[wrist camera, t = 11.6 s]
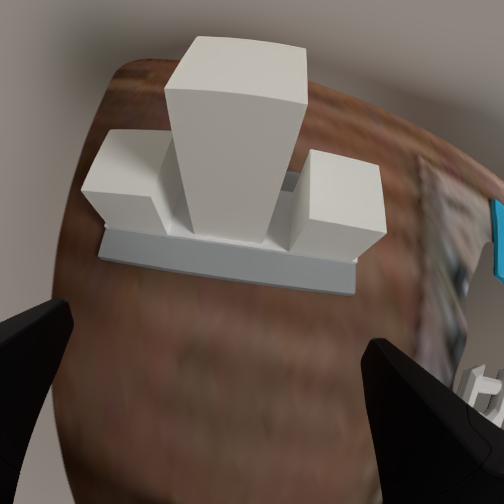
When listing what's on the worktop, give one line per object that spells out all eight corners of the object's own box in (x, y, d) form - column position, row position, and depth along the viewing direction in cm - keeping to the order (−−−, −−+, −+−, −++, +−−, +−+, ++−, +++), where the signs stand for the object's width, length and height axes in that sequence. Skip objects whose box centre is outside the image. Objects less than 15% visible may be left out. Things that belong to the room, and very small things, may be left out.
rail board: (350, 296, 21) (395, 272, 15) (101, 259, 20) (61, 224, 14) (349, 188, 25) (380, 142, 18) (136, 159, 24) (117, 107, 18)
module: (262, 244, 21) (307, 104, 8) (194, 234, 20) (164, 88, 8) (268, 190, 22) (306, 47, 10) (206, 182, 22) (198, 35, 10)
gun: (457, 525, 10) (399, 525, 11) (438, 518, 13) (380, 513, 14) (521, 373, 17) (482, 342, 18) (501, 377, 20) (459, 347, 21)
